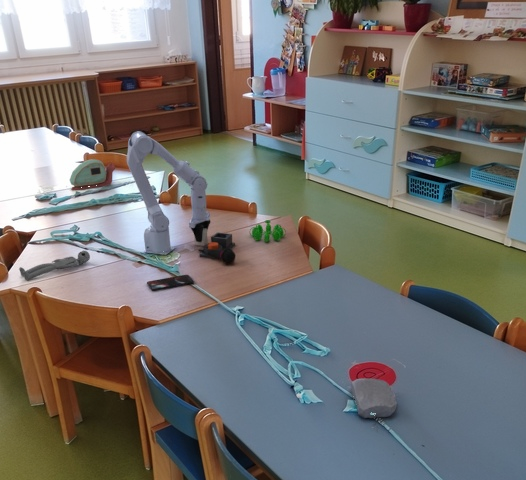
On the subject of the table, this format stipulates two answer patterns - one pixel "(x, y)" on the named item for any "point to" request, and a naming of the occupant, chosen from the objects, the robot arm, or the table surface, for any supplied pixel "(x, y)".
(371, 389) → the stone block
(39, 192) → the table surface
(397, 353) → the table surface
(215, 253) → the microphone
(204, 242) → the block
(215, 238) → the socket
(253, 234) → the chandelier
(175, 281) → the smartphone
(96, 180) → the toy snail
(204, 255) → the adapter
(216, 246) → the power button
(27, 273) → the alien figure
